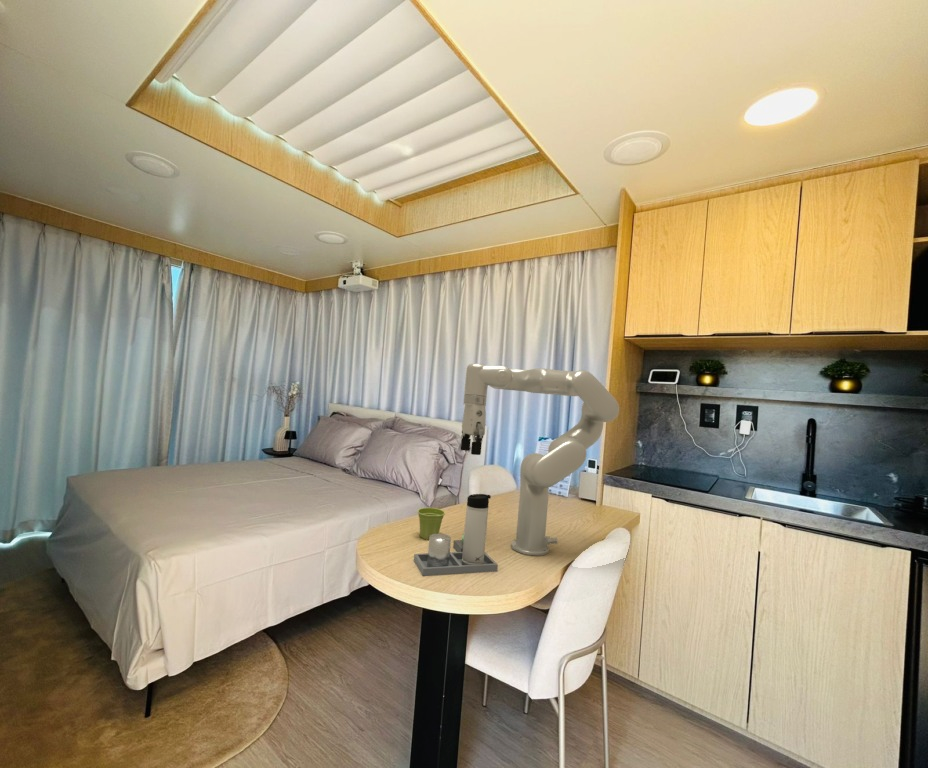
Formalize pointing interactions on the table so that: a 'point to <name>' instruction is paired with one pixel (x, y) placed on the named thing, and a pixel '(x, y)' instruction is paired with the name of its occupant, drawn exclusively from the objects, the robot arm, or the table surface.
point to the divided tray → (454, 565)
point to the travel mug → (475, 529)
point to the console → (458, 545)
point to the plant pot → (430, 521)
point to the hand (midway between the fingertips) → (470, 452)
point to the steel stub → (438, 550)
